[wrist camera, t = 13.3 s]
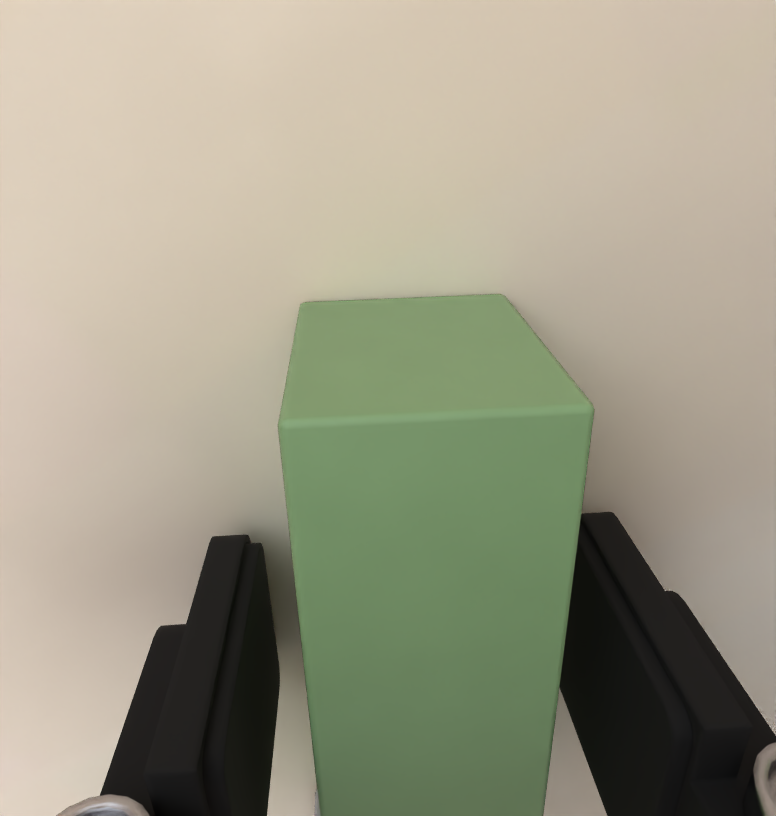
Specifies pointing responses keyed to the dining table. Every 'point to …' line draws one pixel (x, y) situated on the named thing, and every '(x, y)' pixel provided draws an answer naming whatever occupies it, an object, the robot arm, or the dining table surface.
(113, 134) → the dining table surface
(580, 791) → the dining table surface
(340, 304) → the green bar grey end
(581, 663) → the robot arm
